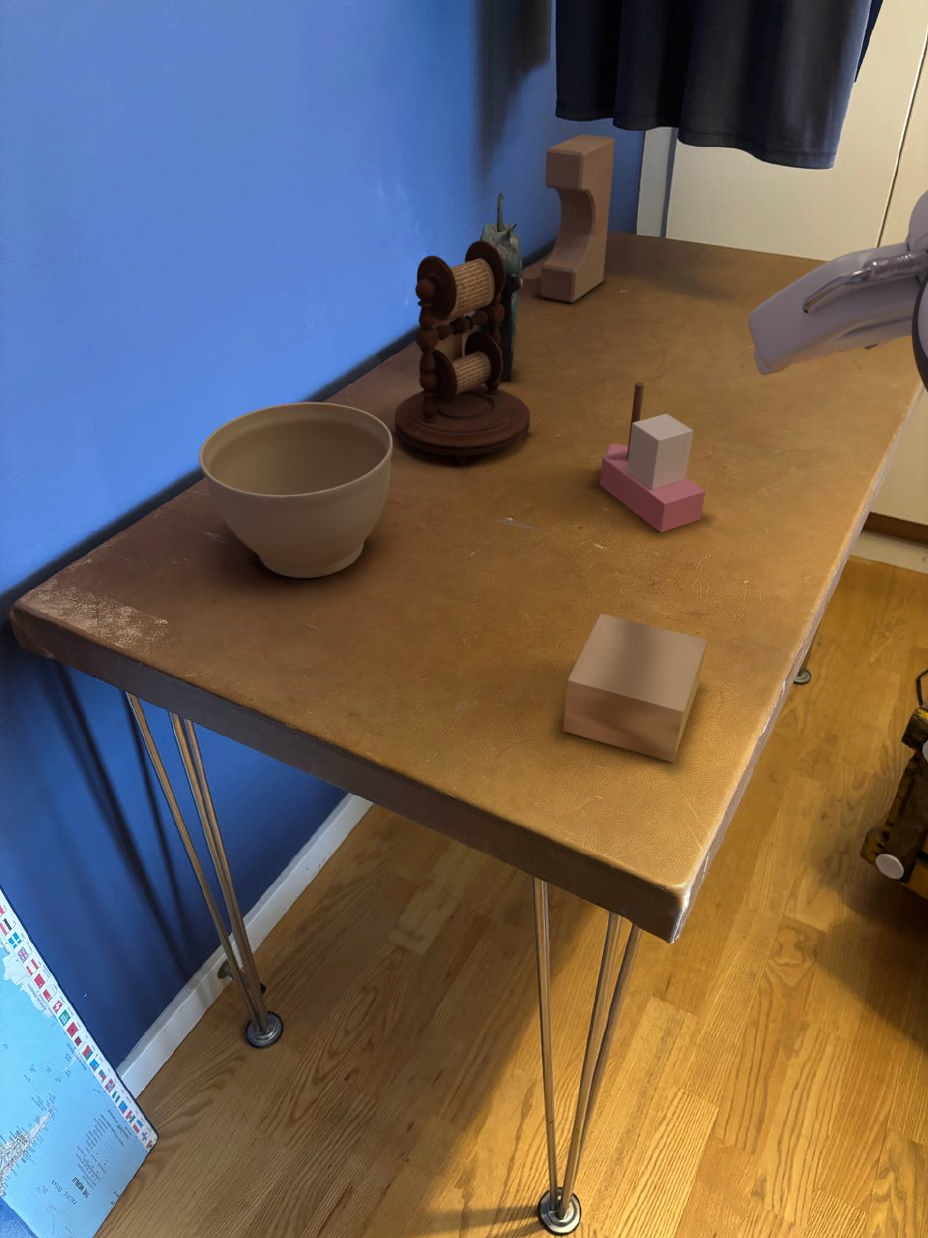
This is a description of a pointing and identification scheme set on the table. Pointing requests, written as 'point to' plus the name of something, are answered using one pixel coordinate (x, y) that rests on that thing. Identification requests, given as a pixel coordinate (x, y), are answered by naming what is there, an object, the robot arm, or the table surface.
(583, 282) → the decorative block
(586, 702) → the birch block
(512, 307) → the ceramic cat
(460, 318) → the scroll
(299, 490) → the planter bowl
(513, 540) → the table surface
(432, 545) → the table surface
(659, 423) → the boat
